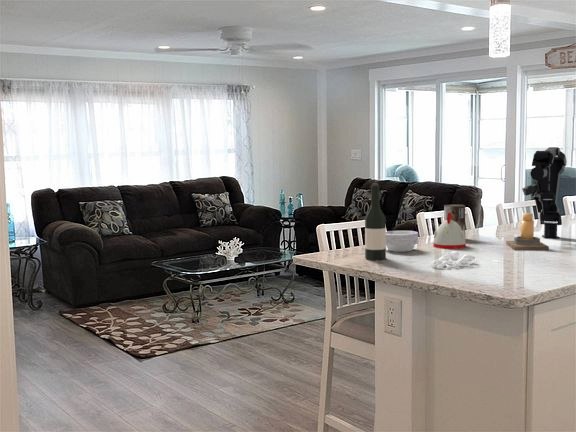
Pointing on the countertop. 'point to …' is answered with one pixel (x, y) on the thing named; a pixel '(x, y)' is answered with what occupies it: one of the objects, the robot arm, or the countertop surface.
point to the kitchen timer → (449, 235)
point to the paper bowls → (401, 240)
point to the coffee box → (456, 214)
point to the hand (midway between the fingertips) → (541, 213)
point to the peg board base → (527, 244)
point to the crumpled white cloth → (453, 256)
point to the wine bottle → (375, 228)
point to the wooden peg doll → (527, 226)
